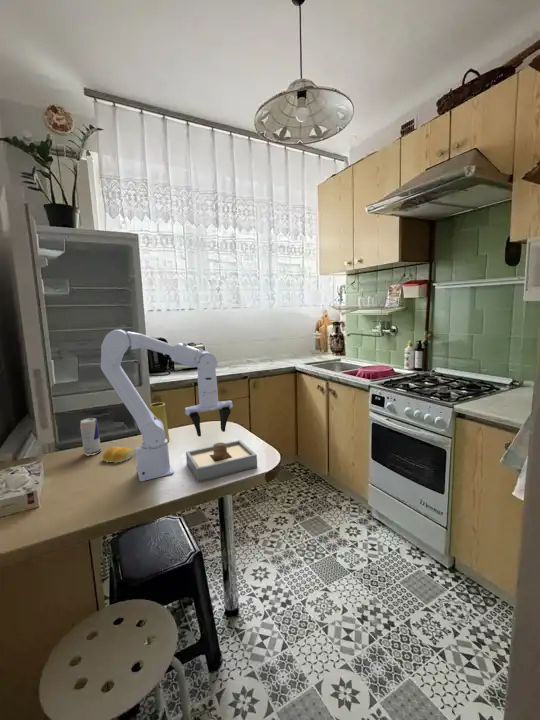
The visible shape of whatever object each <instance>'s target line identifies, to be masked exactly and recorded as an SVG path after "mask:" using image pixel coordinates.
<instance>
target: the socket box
mask: <svg viewBox="0 0 540 720" xmlns="http://www.w3.org/2000/svg"><path fill="white" fill-rule="evenodd" d="M225 443H226V447H227V459H224V460H220V461H216V462H214V451H213V445H211V446H207V447H202V448H197V449H193V450H188V451H185V456H186V465H187V466H188V468H189V469H190V471H191V473H192V475H193V476H194V478H195V480H196V481H197V483H202V482H206V481H210V480H214V479H218V478H222V477H225V476H230V475H234V474H237V473H241V472H244V471H249V470H253V469H256V468H255V467H257V468H258V456H257V453H256V452H254V451H253V450H252V449H250V447H248V446H247V445H246V444H245V443H244V442H243V441H242V440H240V439H239V440H233V441H230V442H225ZM252 468H253V469H252ZM248 469H249V470H248Z"/></svg>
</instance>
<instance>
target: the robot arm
mask: <svg viewBox="0 0 540 720" xmlns="http://www.w3.org/2000/svg"><path fill="white" fill-rule="evenodd" d="M129 347H130V350H132V351H133V350H137V349H147V350H150V351H152V352H153V351H154V352H157V353H160V354H164V355H166V356H167V355H168V356H169V357H170V359H171V361H172V362H175V363H178V364H181V365H184V366H188V367H191V368H195V367H197V368H196V369H197V388H198V390H197V391H198V401H199V402H198V404H196V405H190V406H188V407H184V412H185V415H186V416H189V418H190V419H191V420H192V423H193V425H194V428H195V430H196V434H197V436H198V437H200V438H201V437H202V430H201V417H200V415H199V414H200V413H205V412H210V411H211V412H212V411H216V410H218V412H219V419H220V430H221V432H223V433H224V432H226V426H227V423H228V419H229V417H230V414H231V412H232V411H231V410H232V408H233V406H234V405H233V401H232V400H223V401H219V394H218V393H219V392H218V379H217V374H216V372H217V370H216V368H218V367H217V366H218V363H219V362H218V361H217V358H216V356H215V355H214V354H213V353H210V352H209V351H207V350H204V349H203V348H201V347H199V348H196V347H194V346H190V345H188V343H187V342H186V341H182V343H181V342H177V343H174V344H170V343H167V342H166V341H162V340H159V339H156V338H154V337H151V336H148V335H146V334H143V333H141V332H134V331H129V330H128V331H126V330H124V329H121V328H116V329H113V330H111V331H110V332H108V333H107V334H105V336H104V339H103V341H102V344H101V346H100V349H101V350H100V369H101V371H102V373H103V375H104V376H105V378H106V379H107V381H108V382H109V384H110V385H111V386H112V388H113V389H114V391H115V393H116V395H118V397H119V398H120V399H121V402H122V403H123V404H124V406H125V408H126V409H127V410H128V411H129V413H130V415H131V416H132V418H133V419H134V420H135V422H136V426H137V427H138V429H139V431H140V433H141V434H142V435H141V436H142V443H141V445H140V446H137V447H135V448H134V451H135V462H136V467H135V468H136V469H135V470H136V473H137V475H138V478H139V479H138V480H139V481H140V482H145V481H148V480H152V479H153V480H154V479H156V478H161V477H166V476H169V475H173V474H174V470H173V468H172V466H171V464H170V455H169V444H168V442H169V441H168V442H167V439H166V434H165V431H164V424H163V422H162V421H161V420H159V419H158V418H156V417H155V416H154V414H153V413H152V412H151V410H150V409H149V407H148V406H147V404H146V403H145V401H144V400H143V397H142V396H141V395H140V394H139V393H140V392H138V390H137V389H136V387H135V386H134V384H133V383H132V381H131V379H130V378H129V377H128V374H127V373H126V372H125V370H124V368H123V367H122V364H121V363H122V361H123V357H124V354H126V352H127V351H128V349H129Z"/></svg>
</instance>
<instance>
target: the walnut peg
mask: <svg viewBox="0 0 540 720" xmlns="http://www.w3.org/2000/svg"><path fill="white" fill-rule="evenodd" d="M226 443H227V442H216V443H214V444H213V445H212V446H213V451H214V462H216V461H220V460H224V459H227V447H226Z"/></svg>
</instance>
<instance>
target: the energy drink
mask: <svg viewBox="0 0 540 720" xmlns="http://www.w3.org/2000/svg"><path fill="white" fill-rule="evenodd" d="M79 427H80V428H79V429H80V434H81V441H82V448H83V449H82V450H83V454H84V453H86V454H93V453H97V452H99V451H100V450H101V451H102V448H101V447H102V446H101V439H100V431H99V425H98V419H97V418H95V417H87V418H84V419H82V420H80V424H79Z"/></svg>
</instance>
